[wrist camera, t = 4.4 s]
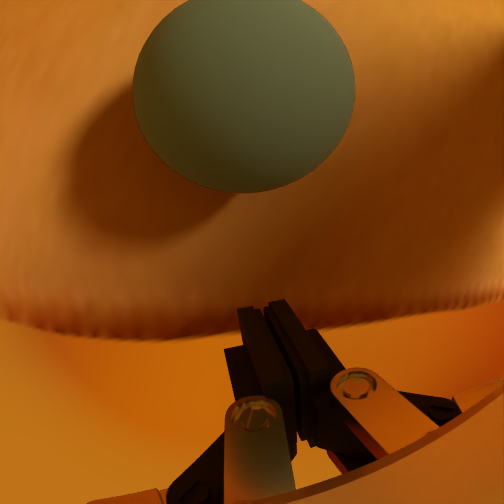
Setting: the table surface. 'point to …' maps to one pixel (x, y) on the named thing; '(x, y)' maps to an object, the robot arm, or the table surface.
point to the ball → (243, 92)
